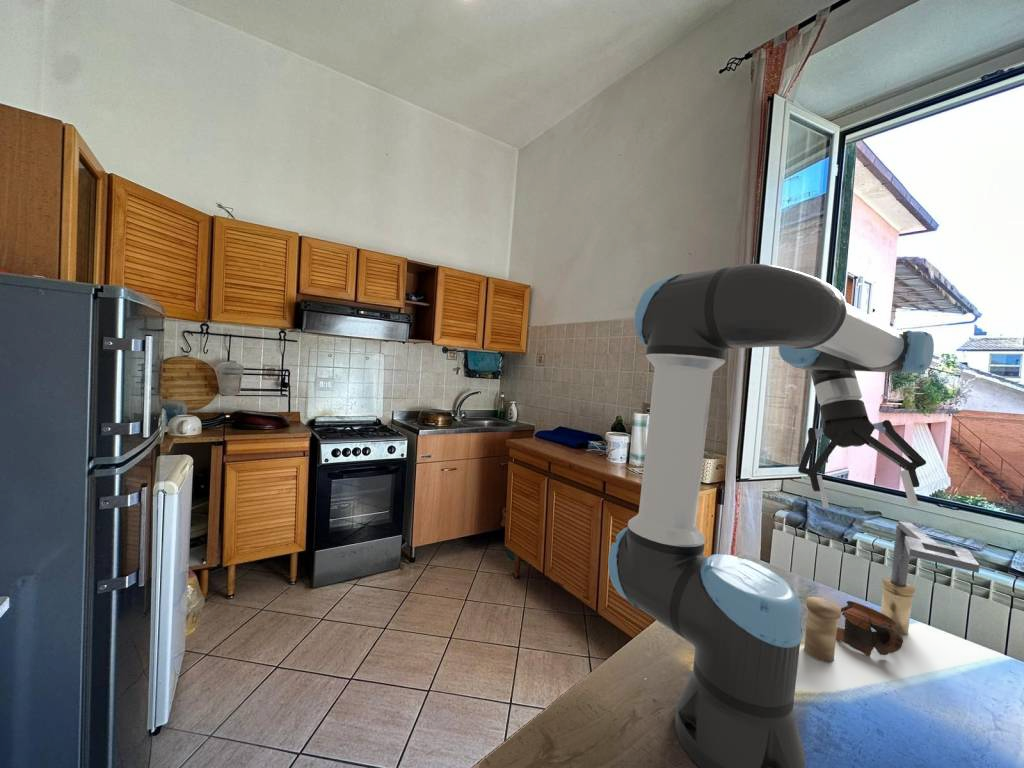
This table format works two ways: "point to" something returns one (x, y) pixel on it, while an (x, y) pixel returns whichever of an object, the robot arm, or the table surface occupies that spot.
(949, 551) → the aperture bracket
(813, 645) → the oak collar post
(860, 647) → the broken brown pot
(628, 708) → the table surface
